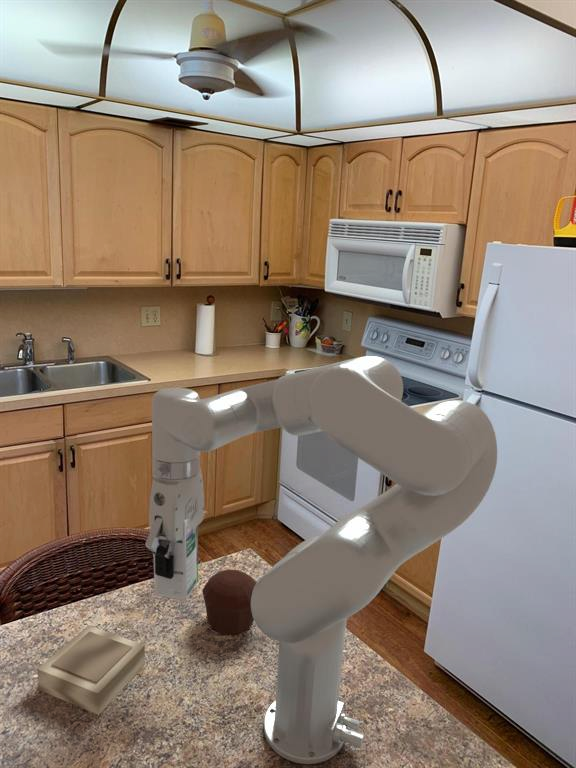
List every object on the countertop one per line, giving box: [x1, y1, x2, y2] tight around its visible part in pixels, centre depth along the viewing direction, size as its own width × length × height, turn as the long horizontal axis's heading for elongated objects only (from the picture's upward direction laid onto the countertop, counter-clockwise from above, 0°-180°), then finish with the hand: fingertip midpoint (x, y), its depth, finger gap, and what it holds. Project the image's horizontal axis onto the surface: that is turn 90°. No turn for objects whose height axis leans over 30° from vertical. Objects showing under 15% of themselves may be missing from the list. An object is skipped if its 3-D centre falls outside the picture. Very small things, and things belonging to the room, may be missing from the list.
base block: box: [37, 624, 146, 716], centre depth 96 cm, size 12×12×4 cm
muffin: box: [202, 569, 257, 637], centre depth 111 cm, size 12×11×10 cm
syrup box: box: [152, 517, 199, 602], centre depth 96 cm, size 6×6×14 cm
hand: (176, 564), depth 96 cm, fingers closed on syrup box, 6 cm apart
